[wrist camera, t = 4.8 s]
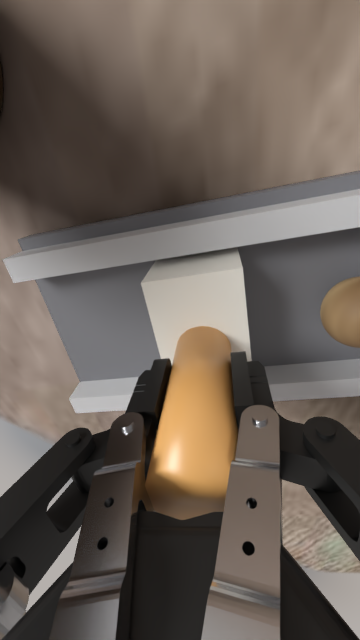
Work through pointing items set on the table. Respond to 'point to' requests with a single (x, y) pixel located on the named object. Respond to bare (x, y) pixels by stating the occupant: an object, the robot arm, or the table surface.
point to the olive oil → (1, 87)
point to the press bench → (193, 238)
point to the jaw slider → (196, 378)
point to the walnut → (343, 312)
